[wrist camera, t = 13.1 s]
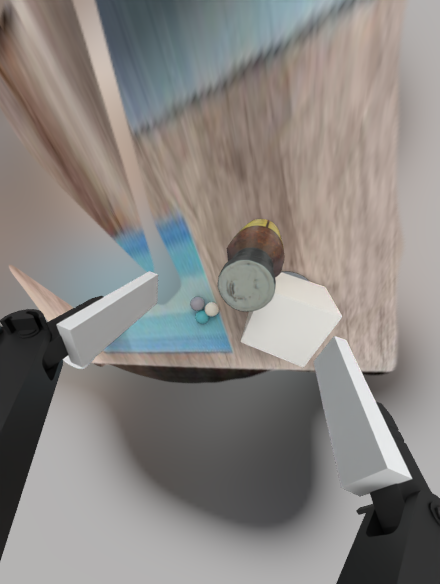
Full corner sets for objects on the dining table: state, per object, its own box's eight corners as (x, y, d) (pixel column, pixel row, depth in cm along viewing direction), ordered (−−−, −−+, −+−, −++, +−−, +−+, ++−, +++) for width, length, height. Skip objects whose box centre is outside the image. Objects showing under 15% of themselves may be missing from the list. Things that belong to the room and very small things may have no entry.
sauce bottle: (236, 247, 31) (184, 299, 14) (252, 211, 28) (210, 221, 11) (269, 263, 30) (259, 337, 13) (289, 228, 27) (309, 268, 10)
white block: (266, 267, 30) (262, 288, 22) (325, 286, 29) (342, 316, 21) (248, 312, 35) (240, 342, 27) (297, 330, 34) (303, 367, 26)
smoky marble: (195, 292, 38) (189, 298, 35) (207, 297, 37) (202, 304, 35) (193, 303, 39) (187, 310, 36) (205, 308, 39) (199, 315, 36)
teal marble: (199, 305, 39) (194, 312, 36) (212, 310, 38) (207, 317, 36) (197, 315, 40) (192, 323, 38) (209, 320, 40) (204, 328, 37)
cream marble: (209, 297, 37) (204, 304, 35) (222, 302, 37) (217, 309, 34) (206, 308, 39) (201, 316, 36) (218, 313, 38) (214, 321, 36)
